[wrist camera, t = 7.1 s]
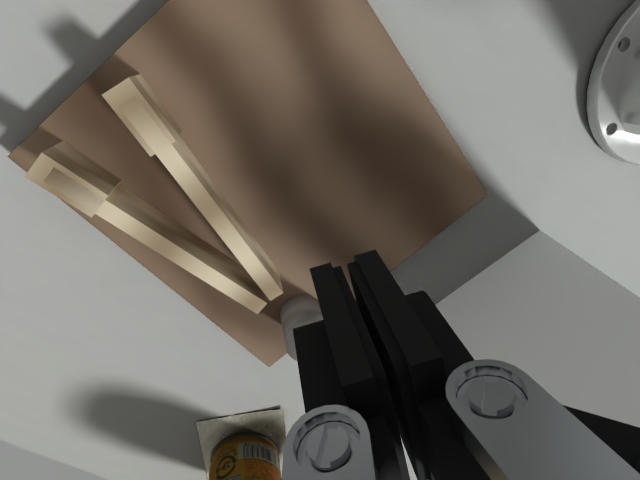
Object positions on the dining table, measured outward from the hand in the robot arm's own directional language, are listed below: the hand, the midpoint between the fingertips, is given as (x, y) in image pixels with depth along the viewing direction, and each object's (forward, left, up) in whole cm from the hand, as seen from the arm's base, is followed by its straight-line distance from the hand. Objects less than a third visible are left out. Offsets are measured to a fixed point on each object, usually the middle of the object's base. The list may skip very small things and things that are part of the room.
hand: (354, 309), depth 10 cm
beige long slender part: (+8, +2, -18) cm, 20 cm away
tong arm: (+5, -1, -18) cm, 18 cm away
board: (+1, +1, -19) cm, 19 cm away
